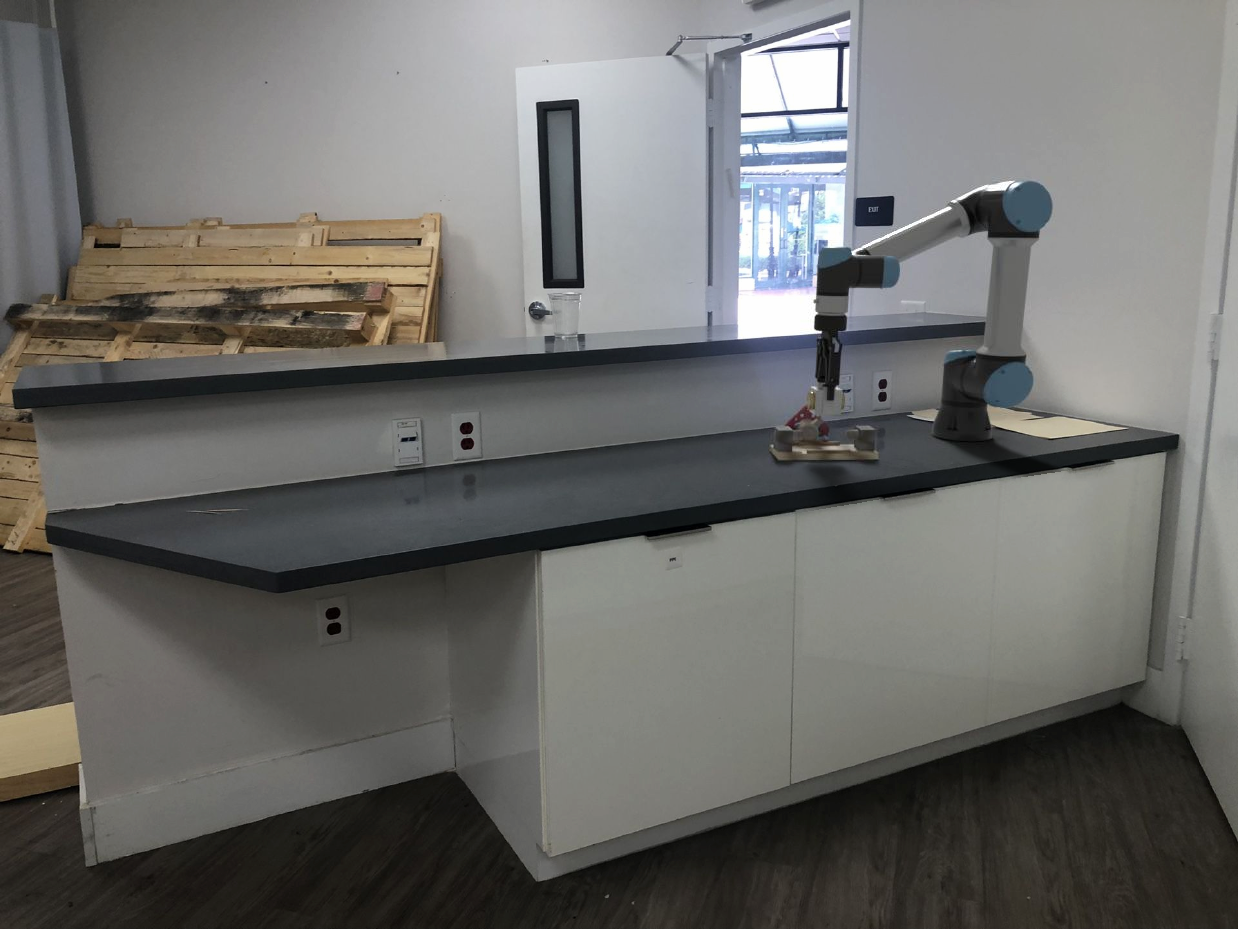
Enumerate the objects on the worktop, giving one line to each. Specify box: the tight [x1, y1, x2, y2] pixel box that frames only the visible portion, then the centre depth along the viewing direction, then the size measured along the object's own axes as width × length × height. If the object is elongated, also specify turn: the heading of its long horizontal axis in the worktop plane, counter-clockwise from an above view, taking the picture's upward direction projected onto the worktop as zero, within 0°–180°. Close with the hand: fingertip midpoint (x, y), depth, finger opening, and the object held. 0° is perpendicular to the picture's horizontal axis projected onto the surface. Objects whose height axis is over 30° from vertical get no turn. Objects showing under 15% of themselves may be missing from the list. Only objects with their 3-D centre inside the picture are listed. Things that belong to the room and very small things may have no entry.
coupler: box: [806, 386, 846, 416], centre depth 232 cm, size 8×5×6 cm, turn 93°
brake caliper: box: [784, 404, 830, 445], centre depth 242 cm, size 11×11×12 cm
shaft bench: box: [769, 425, 880, 461], centre depth 234 cm, size 24×10×7 cm, turn 93°
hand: (824, 411), depth 232 cm, fingers closed on coupler, 5 cm apart
